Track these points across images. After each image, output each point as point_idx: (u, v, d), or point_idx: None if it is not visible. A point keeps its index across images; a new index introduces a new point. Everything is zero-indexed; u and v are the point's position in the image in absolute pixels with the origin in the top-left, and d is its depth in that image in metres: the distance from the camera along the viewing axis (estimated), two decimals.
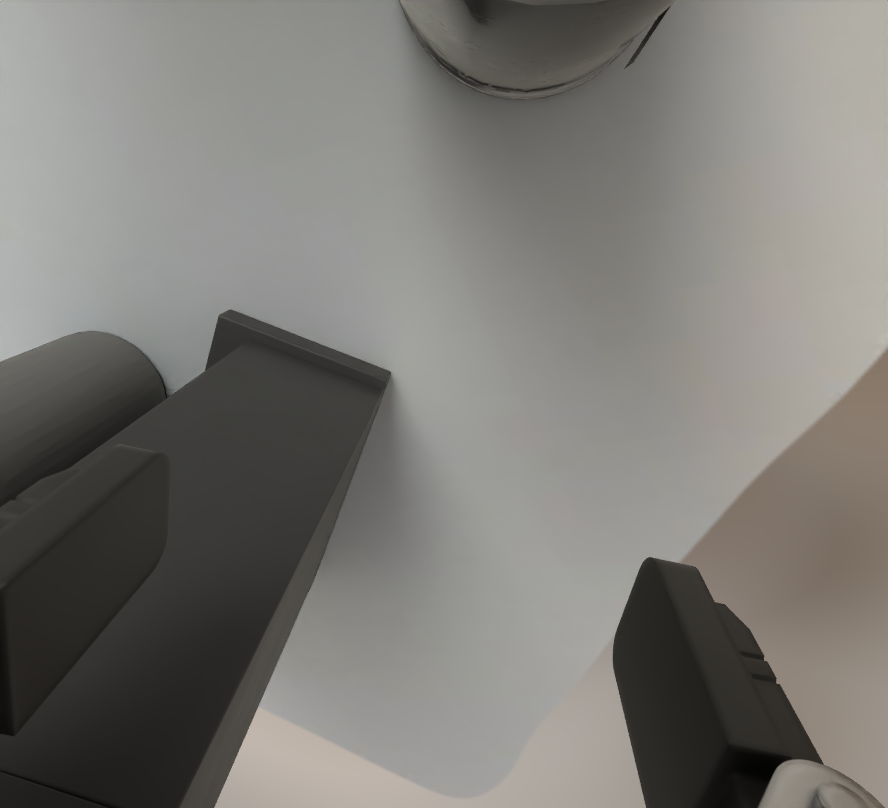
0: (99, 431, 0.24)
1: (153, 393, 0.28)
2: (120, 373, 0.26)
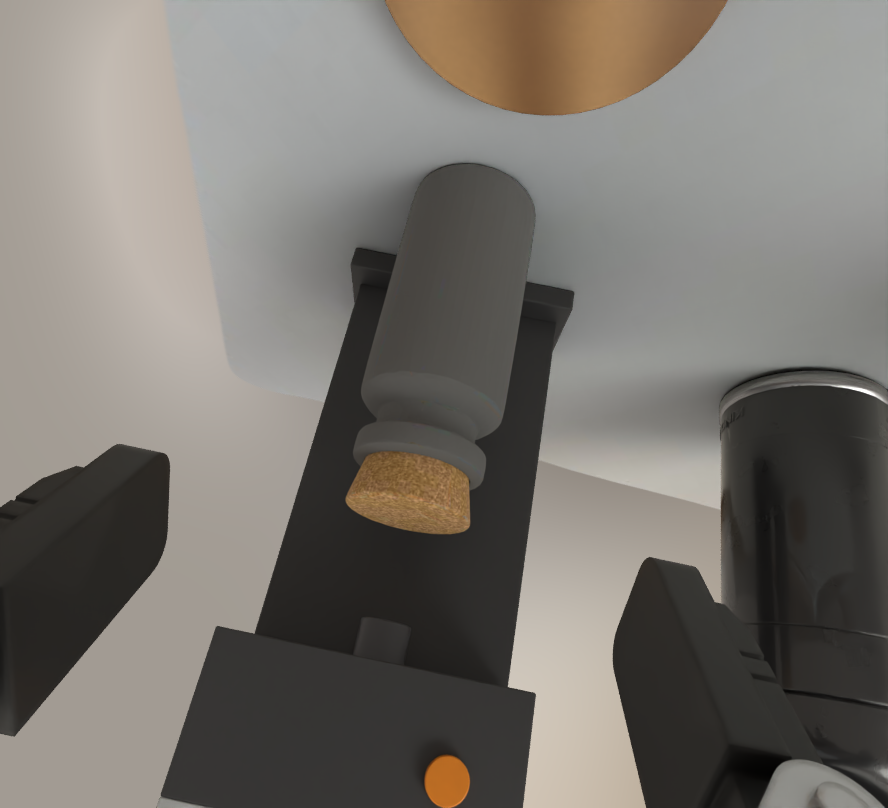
0: None
1: None
2: None
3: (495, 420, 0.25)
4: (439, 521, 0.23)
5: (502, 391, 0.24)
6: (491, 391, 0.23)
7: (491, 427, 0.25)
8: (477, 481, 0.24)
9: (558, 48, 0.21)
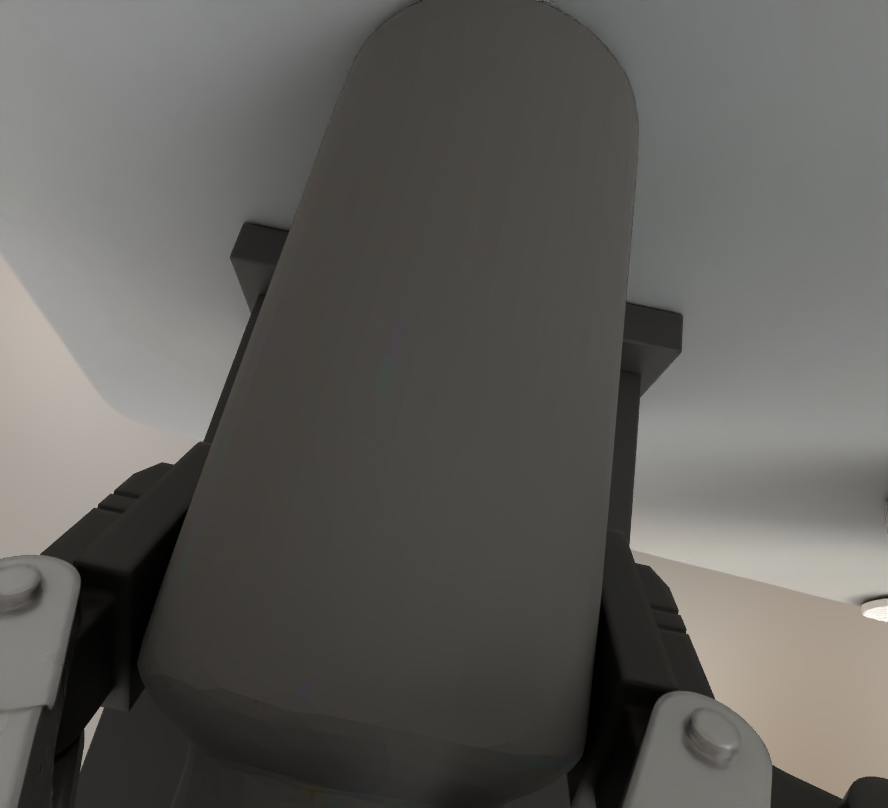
0: None
1: None
2: None
3: None
4: None
5: (586, 692, 0.07)
6: (559, 727, 0.07)
7: None
8: None
9: None
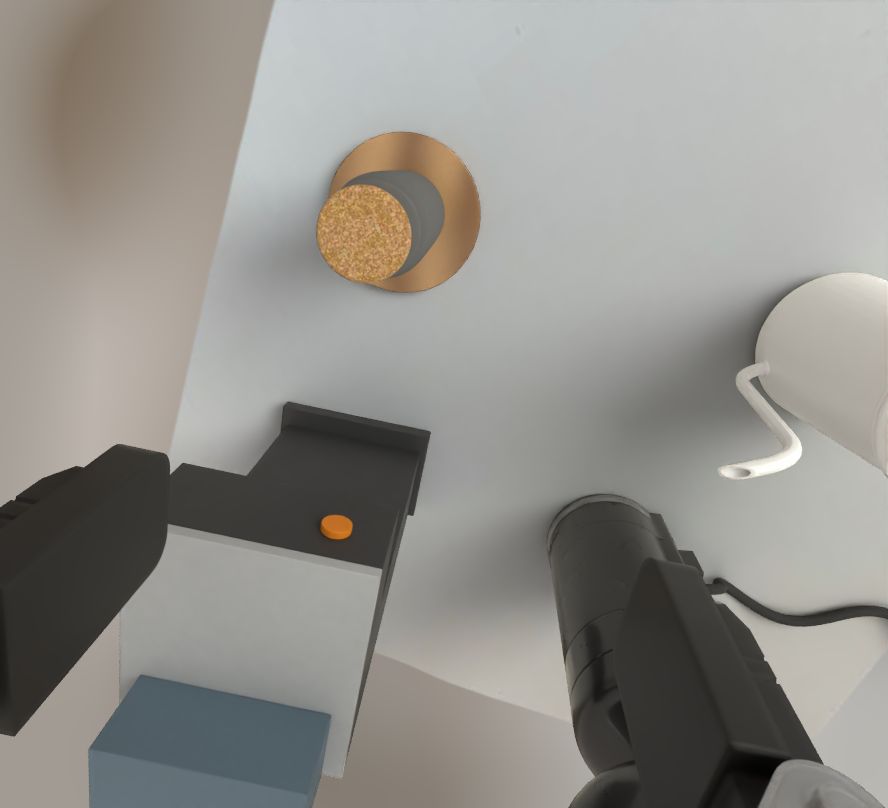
0: None
1: None
2: None
3: (426, 229, 0.34)
4: (388, 235, 0.30)
5: (430, 211, 0.35)
6: (423, 199, 0.34)
7: (423, 233, 0.34)
8: (414, 237, 0.32)
9: None
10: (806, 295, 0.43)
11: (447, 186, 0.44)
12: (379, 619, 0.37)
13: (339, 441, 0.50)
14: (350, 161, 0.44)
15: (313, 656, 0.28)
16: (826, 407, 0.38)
